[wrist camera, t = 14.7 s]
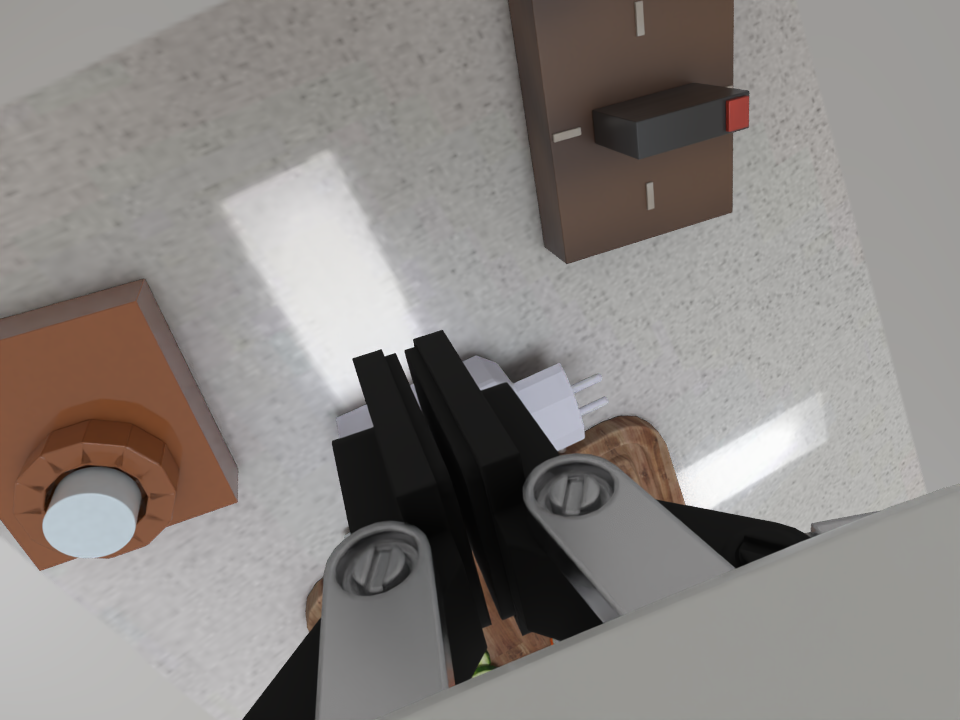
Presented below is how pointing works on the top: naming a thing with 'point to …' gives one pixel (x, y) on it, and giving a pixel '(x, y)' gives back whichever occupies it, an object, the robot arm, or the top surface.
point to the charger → (538, 392)
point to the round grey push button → (92, 512)
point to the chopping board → (613, 439)
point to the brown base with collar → (104, 415)
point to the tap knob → (671, 119)
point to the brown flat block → (609, 80)
